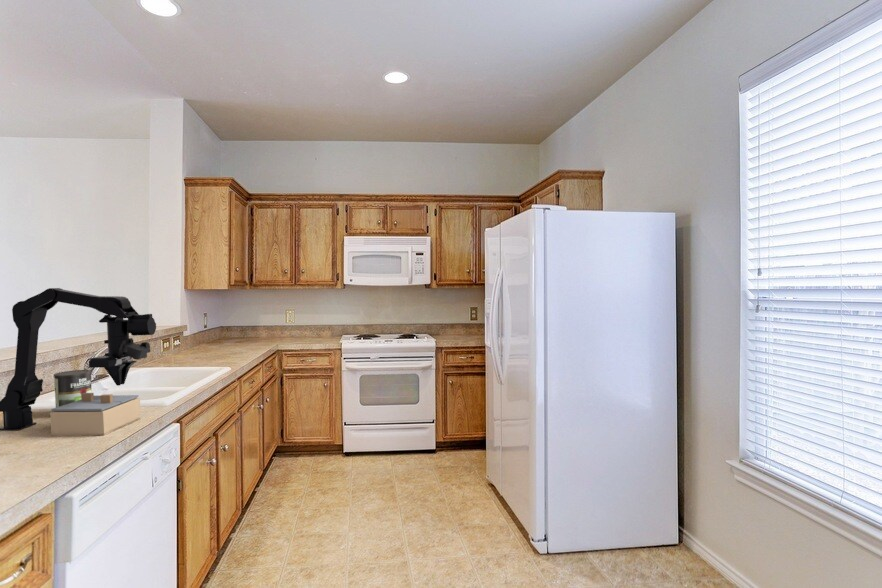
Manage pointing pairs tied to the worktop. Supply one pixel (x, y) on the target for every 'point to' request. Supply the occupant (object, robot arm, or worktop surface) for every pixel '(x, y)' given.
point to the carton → (95, 420)
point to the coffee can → (71, 386)
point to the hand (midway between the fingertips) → (120, 384)
